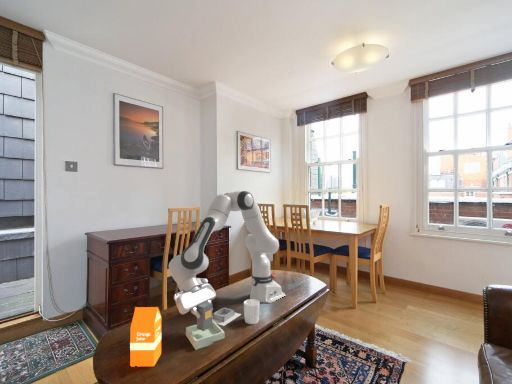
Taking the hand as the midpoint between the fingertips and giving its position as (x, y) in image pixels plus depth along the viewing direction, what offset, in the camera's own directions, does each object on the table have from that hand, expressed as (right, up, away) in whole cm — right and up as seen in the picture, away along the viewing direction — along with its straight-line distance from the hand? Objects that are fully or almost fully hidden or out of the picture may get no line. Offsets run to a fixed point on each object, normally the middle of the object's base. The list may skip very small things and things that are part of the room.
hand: (205, 314), depth 113 cm
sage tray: (0, -10, 0) cm, 10 cm away
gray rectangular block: (-1, -6, 0) cm, 6 cm away
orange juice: (-20, -10, -15) cm, 27 cm away
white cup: (+20, -11, +14) cm, 27 cm away
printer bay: (+6, -11, +18) cm, 21 cm away
